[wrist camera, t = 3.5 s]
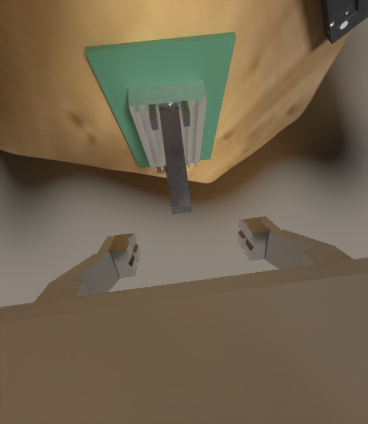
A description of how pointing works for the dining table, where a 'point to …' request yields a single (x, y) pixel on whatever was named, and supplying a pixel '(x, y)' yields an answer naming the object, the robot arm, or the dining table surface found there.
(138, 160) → the circuit board
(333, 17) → the disk drive
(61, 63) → the dining table surface
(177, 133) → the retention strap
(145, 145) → the heat sink
